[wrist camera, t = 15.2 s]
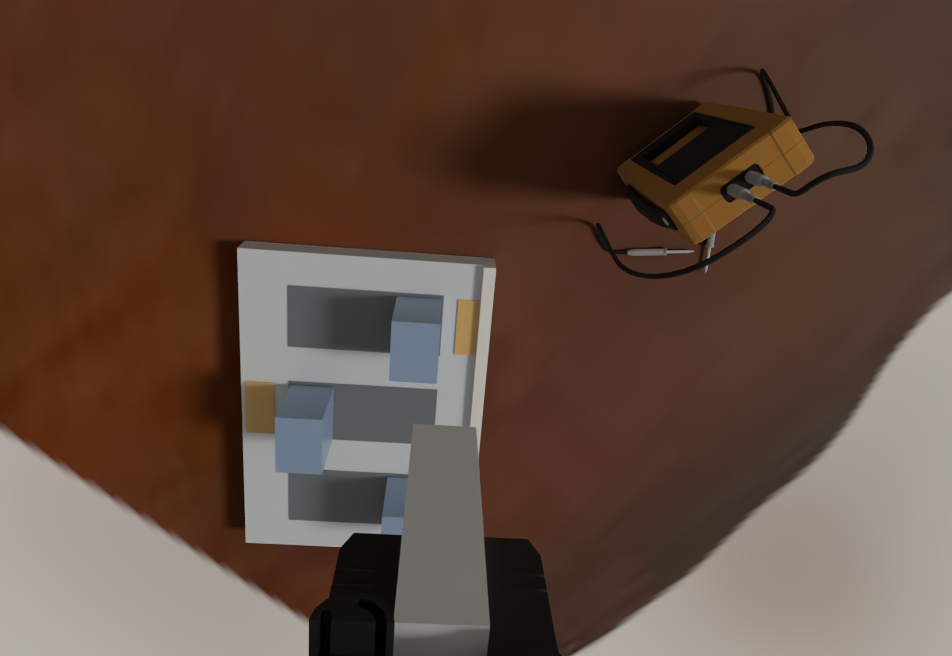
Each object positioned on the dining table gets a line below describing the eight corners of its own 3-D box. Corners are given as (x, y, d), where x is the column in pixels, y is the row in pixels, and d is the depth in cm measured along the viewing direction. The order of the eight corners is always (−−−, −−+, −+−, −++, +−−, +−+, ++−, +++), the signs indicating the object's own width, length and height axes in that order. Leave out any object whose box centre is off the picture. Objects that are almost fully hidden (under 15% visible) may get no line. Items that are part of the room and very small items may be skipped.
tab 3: (397, 295, 50) (391, 321, 45) (441, 299, 50) (440, 324, 45) (394, 351, 51) (388, 381, 47) (437, 353, 52) (436, 383, 47)
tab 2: (387, 477, 55) (381, 516, 50) (428, 479, 55) (426, 518, 50) (385, 522, 56) (379, 565, 51) (425, 524, 56) (423, 567, 52)
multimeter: (648, 311, 53) (755, 450, 35) (568, 201, 50) (638, 288, 32) (829, 185, 51) (1051, 262, 32) (755, 61, 48) (953, 65, 29)
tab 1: (290, 384, 52) (274, 417, 47) (333, 387, 52) (322, 420, 47) (290, 435, 53) (275, 472, 49) (333, 437, 54) (321, 474, 49)
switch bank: (244, 240, 51) (234, 250, 48) (493, 258, 52) (496, 268, 49) (252, 526, 58) (243, 547, 56) (468, 537, 59) (469, 557, 57)
